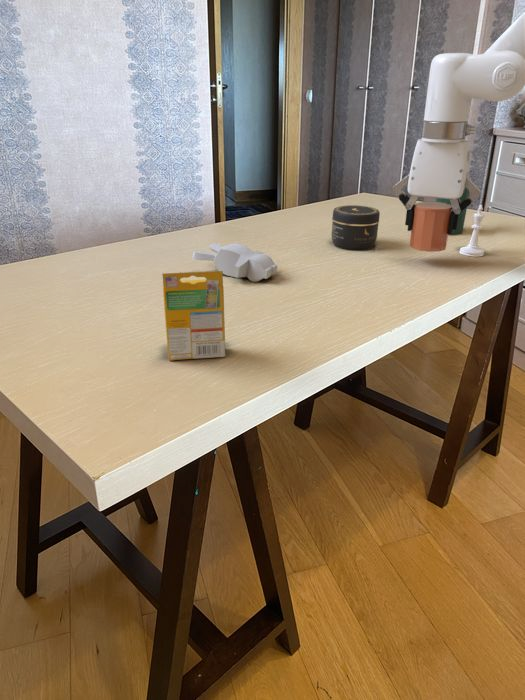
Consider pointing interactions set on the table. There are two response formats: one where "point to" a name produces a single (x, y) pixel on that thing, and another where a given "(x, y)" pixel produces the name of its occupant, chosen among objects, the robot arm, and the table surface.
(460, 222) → the bottle
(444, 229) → the terracotta orange cylinder
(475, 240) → the chess piece
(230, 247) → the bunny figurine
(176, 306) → the crayon box
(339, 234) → the jar
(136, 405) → the table surface
